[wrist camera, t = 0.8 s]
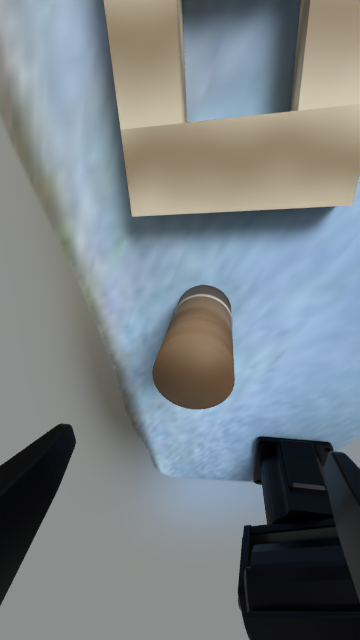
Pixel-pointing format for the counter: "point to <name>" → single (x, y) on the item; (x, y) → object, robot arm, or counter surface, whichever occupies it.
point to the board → (236, 118)
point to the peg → (197, 351)
